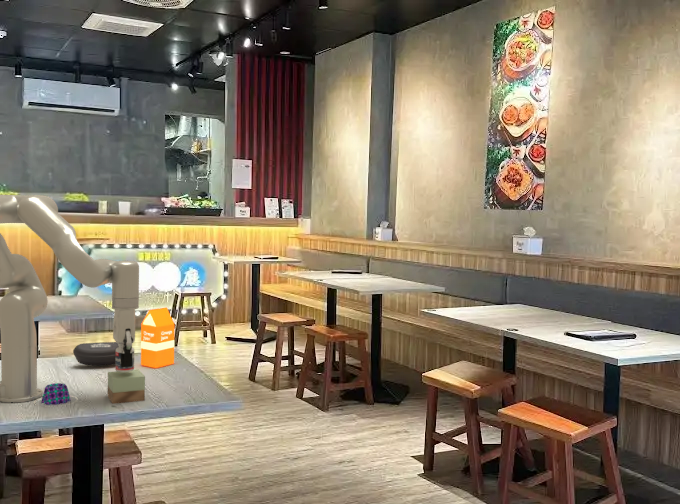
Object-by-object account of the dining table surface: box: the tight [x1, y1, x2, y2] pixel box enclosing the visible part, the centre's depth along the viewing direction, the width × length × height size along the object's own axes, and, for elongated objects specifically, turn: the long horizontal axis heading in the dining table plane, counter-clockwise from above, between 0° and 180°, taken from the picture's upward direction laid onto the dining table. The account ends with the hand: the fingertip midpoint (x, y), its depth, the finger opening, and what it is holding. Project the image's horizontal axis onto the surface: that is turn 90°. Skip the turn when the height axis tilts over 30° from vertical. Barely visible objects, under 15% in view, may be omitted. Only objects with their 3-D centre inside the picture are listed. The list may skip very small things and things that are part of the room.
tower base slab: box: [107, 385, 146, 405], centre depth 210 cm, size 9×9×4 cm
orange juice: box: [140, 307, 175, 369], centre depth 254 cm, size 8×9×20 cm
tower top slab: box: [107, 369, 146, 393], centre depth 210 cm, size 9×9×4 cm
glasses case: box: [72, 341, 118, 367], centre depth 253 cm, size 18×10×8 cm, turn 111°
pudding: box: [33, 382, 79, 408], centre depth 206 cm, size 12×12×5 cm
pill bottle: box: [114, 341, 135, 372], centre depth 210 cm, size 5×5×9 cm
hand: (124, 363), depth 210 cm, fingers closed on pill bottle, 5 cm apart
